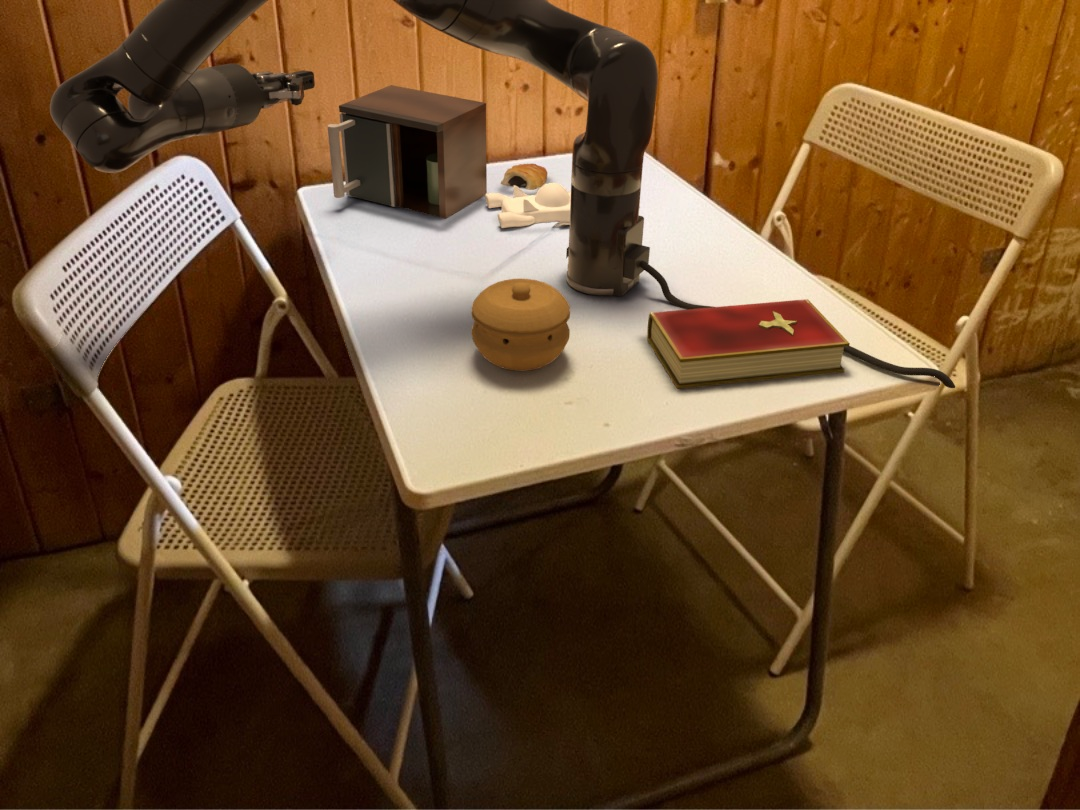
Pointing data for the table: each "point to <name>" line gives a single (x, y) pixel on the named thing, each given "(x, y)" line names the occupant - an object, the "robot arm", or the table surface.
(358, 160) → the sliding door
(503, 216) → the plane toy
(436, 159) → the green jar
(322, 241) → the table surface
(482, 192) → the cupboard
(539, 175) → the pastry
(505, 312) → the pot
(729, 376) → the hardcover book
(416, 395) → the table surface
